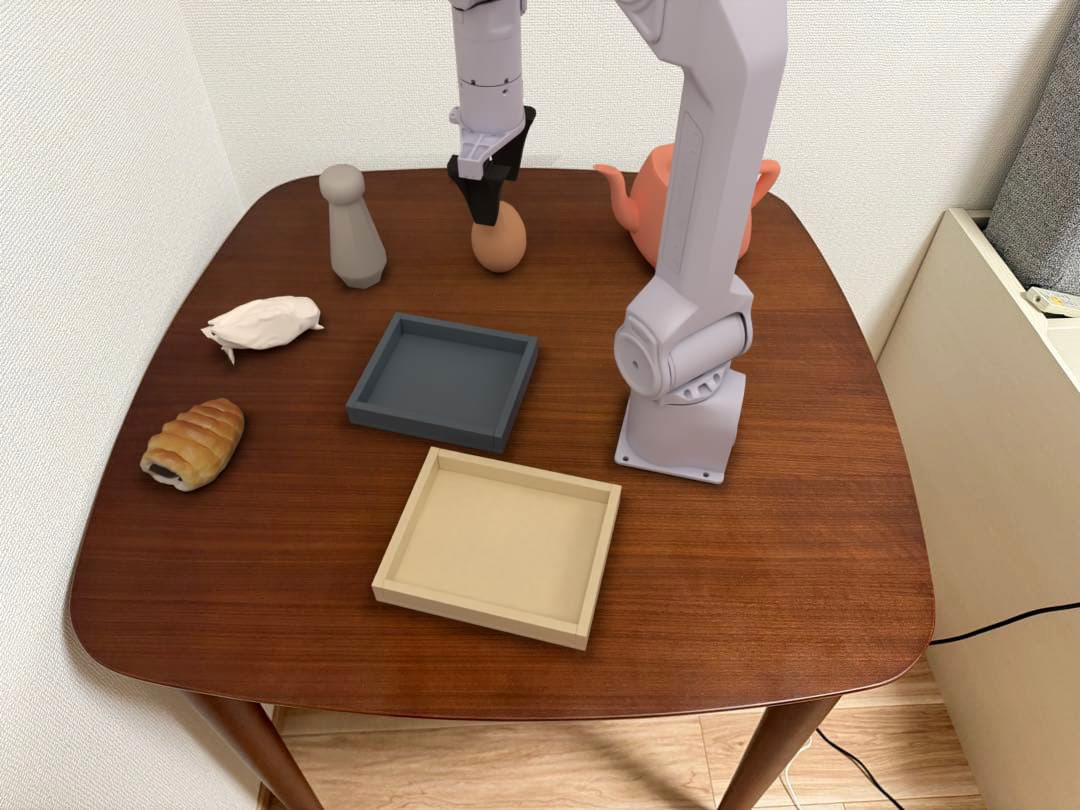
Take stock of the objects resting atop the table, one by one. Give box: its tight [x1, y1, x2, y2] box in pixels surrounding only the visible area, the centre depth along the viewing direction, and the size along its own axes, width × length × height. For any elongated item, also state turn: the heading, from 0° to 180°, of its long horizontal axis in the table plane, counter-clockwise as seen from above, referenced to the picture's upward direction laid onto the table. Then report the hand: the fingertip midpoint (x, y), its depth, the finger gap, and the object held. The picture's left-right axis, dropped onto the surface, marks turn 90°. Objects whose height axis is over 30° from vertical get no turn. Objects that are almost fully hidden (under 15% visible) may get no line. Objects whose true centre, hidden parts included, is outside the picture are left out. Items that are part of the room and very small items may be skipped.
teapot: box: [592, 142, 781, 272], centre depth 86 cm, size 13×20×12 cm, turn 100°
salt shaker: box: [318, 163, 388, 290], centre depth 83 cm, size 6×6×13 cm
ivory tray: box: [370, 446, 623, 652], centre depth 65 cm, size 17×14×2 cm
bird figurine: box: [200, 295, 325, 366], centre depth 80 cm, size 5×7×10 cm
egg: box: [471, 200, 527, 273], centre depth 86 cm, size 6×6×8 cm
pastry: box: [139, 397, 245, 492], centre depth 72 cm, size 9×7×4 cm
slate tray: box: [345, 311, 539, 455], centre depth 77 cm, size 15×13×2 cm
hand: (496, 200), depth 82 cm, fingers open, 7 cm apart
